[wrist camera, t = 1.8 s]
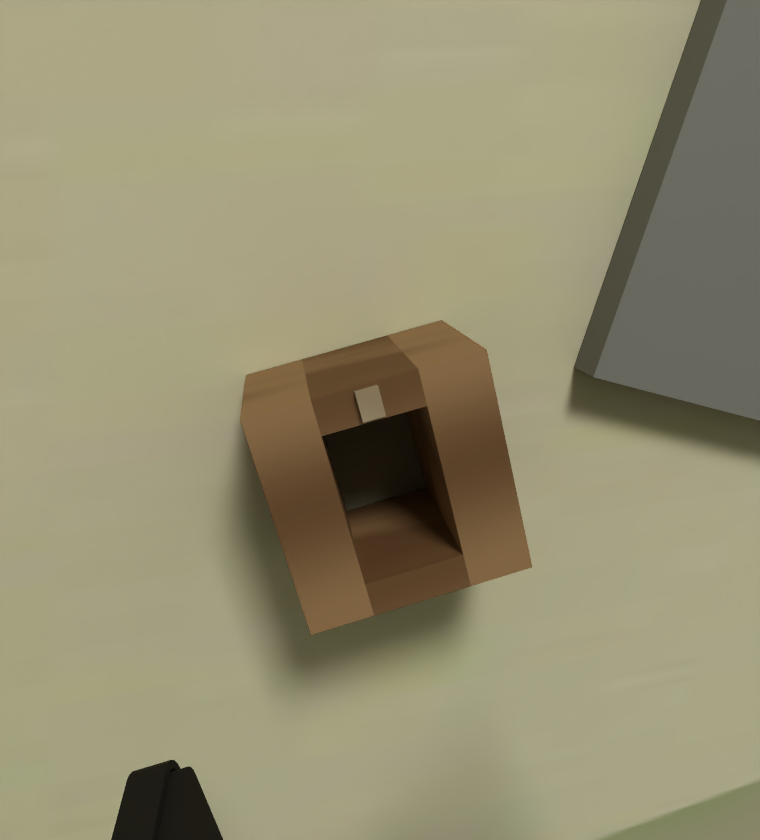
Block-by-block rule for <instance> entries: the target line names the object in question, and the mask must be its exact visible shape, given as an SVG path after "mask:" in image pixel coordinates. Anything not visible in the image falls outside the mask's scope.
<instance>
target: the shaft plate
mask: <svg viewBox="0 0 760 840" xmlns="http://www.w3.org/2000/svg"><path fill="white" fill-rule="evenodd" d="M574 367H575V368H577V369H579V370H580V371H582V372H584V373H586V374H588V375H590V376H592V377H594V378H598V379H602V380H606V381H610V382H613V383H617V384H621V385H625V386H629V387H632V388H636V389H640V390H644V391H648V392H652V393H655V394H659V395H663V396H667V397H671V398H675V399H678V400H682V401H686V402H690V403H694V404H698V405H701V406H705V407H709V408H713V409H717V410H721V411H724V412H728V413H732V414H736V415H740V416H743V417H747V418H751V419H755V420H759V421H760V0H701V3H700V6H699V9H698V12H697V15H696V17H695V20H694V23H693V26H692V29H691V32H690V35H689V38H688V41H687V43H686V46H685V49H684V52H683V55H682V58H681V61H680V64H679V66H678V69H677V72H676V75H675V78H674V81H673V84H672V87H671V90H670V92H669V95H668V98H667V101H666V104H665V107H664V110H663V113H662V116H661V118H660V121H659V124H658V127H657V130H656V133H655V136H654V139H653V141H652V144H651V147H650V150H649V153H648V156H647V159H646V162H645V165H644V167H643V170H642V173H641V176H640V179H639V182H638V185H637V188H636V191H635V193H634V196H633V199H632V202H631V205H630V208H629V211H628V214H627V216H626V219H625V222H624V225H623V228H622V231H621V234H620V237H619V240H618V242H617V245H616V248H615V251H614V254H613V257H612V260H611V263H610V265H609V268H608V271H607V274H606V277H605V280H604V283H603V286H602V289H601V291H600V294H599V297H598V300H597V303H596V306H595V309H594V312H593V315H592V317H591V320H590V323H589V326H588V329H587V332H586V335H585V338H584V340H583V343H582V346H581V349H580V352H579V355H578V358H577V361H576V364H575V366H574Z"/></svg>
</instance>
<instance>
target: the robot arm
mask: <svg viewBox="0 0 760 840" xmlns="http://www.w3.org/2000/svg"><path fill="white" fill-rule="evenodd" d="M111 840H223V838H222V836H221V833H220V831H219V829H218V826H217V824H216V822H215V819H214V817H213V814H212V812H211V810H210V807H209V805H208V803H207V800H206V798H205V795H204V793H203V791H202V788H201V786H200V784H199V781H198V779H197V776H196V774H195V772H194V770H193V769H192V768H191V767H185V768H182V769H180V767H179V765H178V763H177V762H176V761H175V760H169V761H166V762H163V763H159V764H156V765H153V766H149V767H146V768H143V769H140V770H136V771H133V772H132V773H131V774H130V775H129V777H128V779H127V782H126V786H125V790H124V794H123V798H122V801H121V805H120V809H119V813H118V816H117V820H116V824H115V828H114V831H113V835H112V839H111Z"/></svg>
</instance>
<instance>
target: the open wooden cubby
mask: <svg viewBox="0 0 760 840" xmlns="http://www.w3.org/2000/svg"><path fill="white" fill-rule="evenodd" d="M404 412H407V415H408V419H409V423H410V427H411V431H412V435H413V439H414V443H415V447H416V451H417V454H418V458H419V462H420V466H421V470H422V474H423V478H424V482H425V486H426V488H423V489H420V490H417V491H413V492H410V493H407V494H403V495H400V496H396V497H393V498H390V499H386V500H383V501H380V502H376V503H373V504H369V505H366V506H363V507H359V508H356V509H353V510H349V511H346V508H345V505H344V501H343V498H342V495H341V491H340V488H339V484H338V481H337V477H336V474H335V471H334V467H333V464H332V460H331V457H330V454H329V450H328V447H327V443H326V440H325V437H324V436H325V435H328V434H331V433H335V432H338V431H342V430H345V429H349V428H352V427H356V426H359V425H363V424H366V423H370V422H373V421H377V420H380V419H384V418H387V417H390V416H394V415H397V414H401V413H404ZM240 421H241V424H242V427H243V430H244V433H245V436H246V439H247V442H248V445H249V448H250V451H251V454H252V457H253V460H254V464H255V467H256V470H257V473H258V476H259V479H260V482H261V485H262V488H263V491H264V494H265V497H266V500H267V503H268V506H269V509H270V512H271V515H272V518H273V521H274V524H275V527H276V530H277V533H278V536H279V539H280V542H281V545H282V548H283V551H284V554H285V557H286V560H287V564H288V567H289V570H290V573H291V576H292V579H293V582H294V585H295V588H296V591H297V594H298V597H299V600H300V603H301V606H302V609H303V612H304V615H305V618H306V621H307V624H308V627H309V630H310V633H311V635H313V634H316V633H319V632H322V631H326V630H329V629H332V628H335V627H339V626H342V625H345V624H348V623H352V622H355V621H358V620H361V619H365V618H368V617H371V616H375V615H378V614H381V613H384V612H388V611H391V610H394V609H397V608H401V607H404V606H407V605H410V604H414V603H417V602H420V601H423V600H427V599H430V598H433V597H436V596H440V595H443V594H446V593H450V592H453V591H456V590H459V589H463V588H466V587H469V586H472V585H476V584H479V583H482V582H485V581H489V580H492V579H495V578H498V577H502V576H505V575H508V574H511V573H515V572H518V571H521V570H525V569H528V568H531V567H532V564H531V559H530V554H529V550H528V545H527V540H526V535H525V530H524V526H523V521H522V516H521V511H520V507H519V502H518V497H517V492H516V488H515V483H514V478H513V473H512V469H511V464H510V459H509V454H508V450H507V445H506V440H505V435H504V430H503V426H502V421H501V416H500V411H499V407H498V402H497V397H496V392H495V388H494V383H493V378H492V373H491V369H490V364H489V359H488V354H487V350H486V349H485V348H483V347H482V346H480V345H479V344H477V343H476V342H474V341H473V340H471V339H470V338H468V337H467V336H465V335H464V334H462V333H460V332H459V331H457V330H456V329H454V328H453V327H451V326H450V325H448V324H447V323H445V322H444V321H442V320H441V321H437V322H434V323H430V324H427V325H423V326H420V327H416V328H412V329H409V330H405V331H402V332H398V333H395V334H391V335H387V336H384V337H380V338H377V339H373V340H370V341H366V342H363V343H359V344H355V345H352V346H348V347H345V348H341V349H338V350H334V351H330V352H327V353H323V354H320V355H316V356H313V357H309V358H306V359H302V360H298V361H295V362H291V363H288V364H284V365H281V366H277V367H273V368H270V369H266V370H263V371H259V372H256V373H252V374H249V375H246V380H245V387H244V394H243V402H242V409H241V416H240Z"/></svg>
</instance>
